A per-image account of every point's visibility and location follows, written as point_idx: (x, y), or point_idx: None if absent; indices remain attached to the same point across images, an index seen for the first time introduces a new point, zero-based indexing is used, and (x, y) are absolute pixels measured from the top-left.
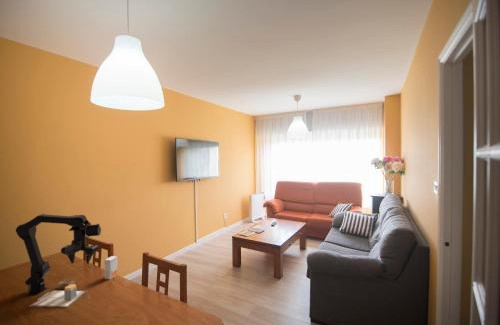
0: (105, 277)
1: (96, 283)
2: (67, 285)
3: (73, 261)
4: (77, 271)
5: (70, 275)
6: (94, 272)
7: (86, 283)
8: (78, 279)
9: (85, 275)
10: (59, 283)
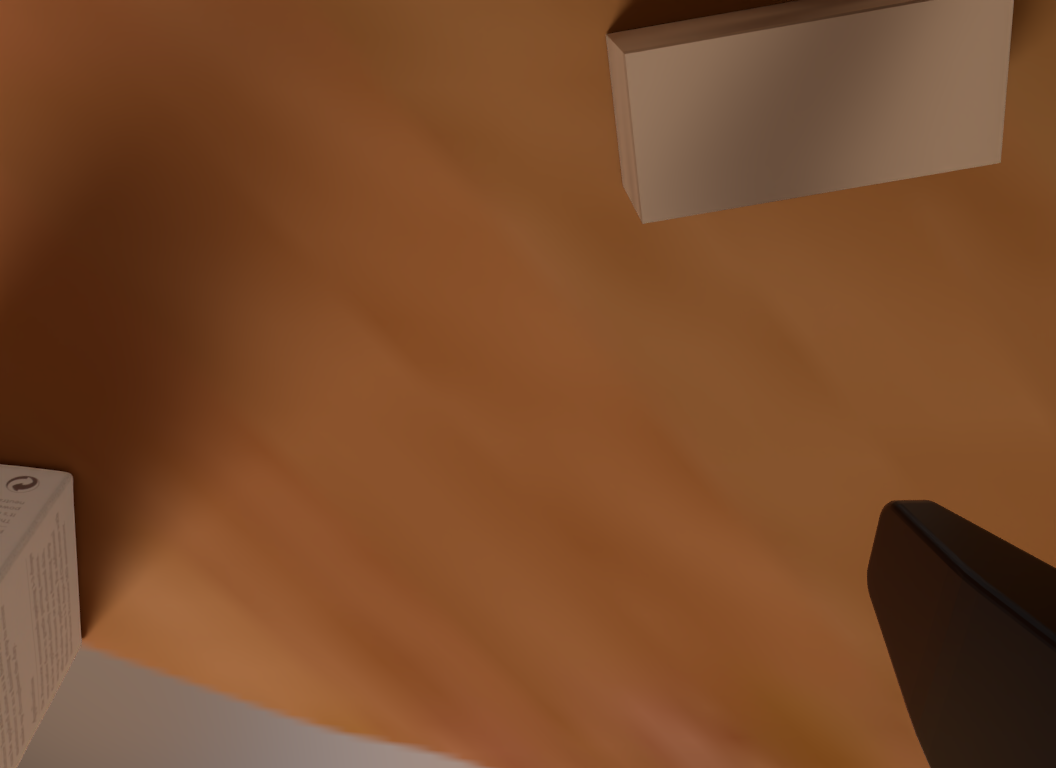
0: (32, 486)
1: (93, 272)
2: (714, 27)
3: (900, 632)
4: None
5: None
6: (545, 675)
7: (361, 262)
8: (702, 416)
9: (658, 567)
10: (984, 35)
